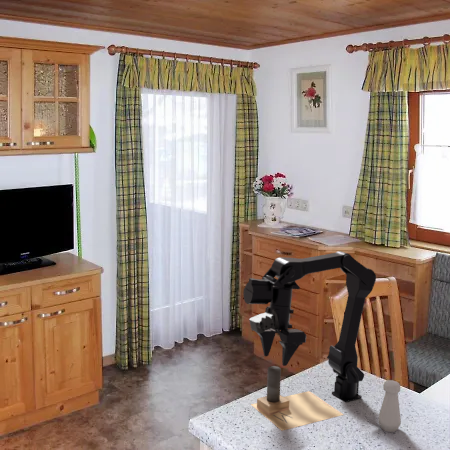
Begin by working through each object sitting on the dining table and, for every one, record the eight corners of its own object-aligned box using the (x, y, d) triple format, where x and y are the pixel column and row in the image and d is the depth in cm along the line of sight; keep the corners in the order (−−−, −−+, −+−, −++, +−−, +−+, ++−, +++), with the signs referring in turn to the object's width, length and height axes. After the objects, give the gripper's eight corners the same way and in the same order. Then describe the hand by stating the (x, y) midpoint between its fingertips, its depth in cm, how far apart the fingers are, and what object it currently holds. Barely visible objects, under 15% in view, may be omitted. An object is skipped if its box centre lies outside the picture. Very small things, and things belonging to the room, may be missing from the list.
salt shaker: (401, 435, 151) (404, 388, 149) (378, 432, 152) (381, 385, 150) (399, 424, 157) (402, 378, 155) (377, 421, 158) (380, 376, 156)
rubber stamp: (276, 401, 166) (278, 362, 164) (289, 408, 161) (290, 369, 159) (256, 407, 162) (258, 368, 160) (268, 415, 157) (270, 375, 155)
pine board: (309, 395, 173) (309, 391, 172) (343, 419, 159) (343, 414, 158) (250, 409, 163) (250, 404, 163) (281, 436, 149) (281, 430, 149)
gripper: (238, 298, 163) (233, 353, 164) (274, 311, 147) (268, 372, 147) (271, 298, 169) (266, 351, 169) (310, 311, 152) (304, 370, 153)
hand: (275, 360), depth 160 cm, fingers open, 9 cm apart
